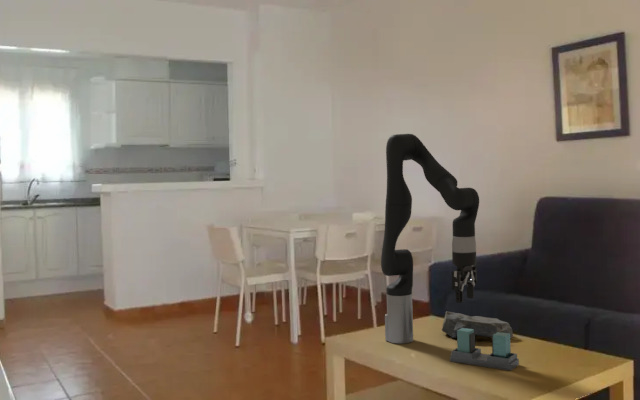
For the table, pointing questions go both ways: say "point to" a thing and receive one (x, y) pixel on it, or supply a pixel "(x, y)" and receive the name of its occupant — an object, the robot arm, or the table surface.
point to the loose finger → (466, 340)
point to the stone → (474, 325)
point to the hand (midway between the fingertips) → (465, 300)
